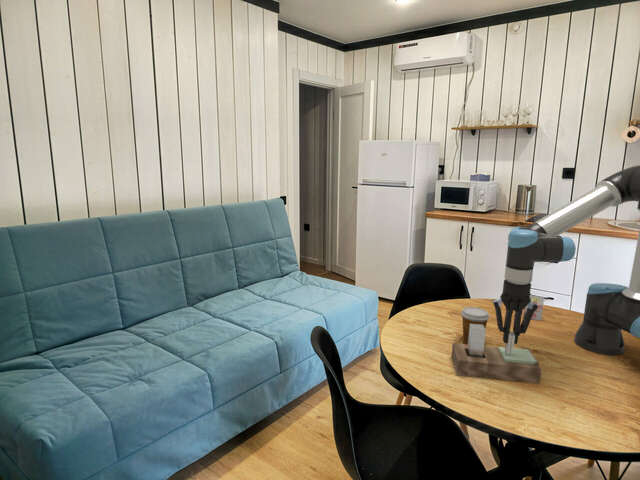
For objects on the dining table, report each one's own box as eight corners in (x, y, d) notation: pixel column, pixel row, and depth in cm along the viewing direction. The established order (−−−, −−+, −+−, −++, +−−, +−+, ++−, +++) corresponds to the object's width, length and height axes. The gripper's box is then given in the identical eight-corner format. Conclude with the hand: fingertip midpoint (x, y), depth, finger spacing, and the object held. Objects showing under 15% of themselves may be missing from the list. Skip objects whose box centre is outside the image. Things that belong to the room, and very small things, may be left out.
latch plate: (529, 352, 133) (529, 349, 133) (537, 364, 125) (538, 361, 125) (498, 349, 135) (498, 346, 134) (504, 361, 127) (504, 358, 127)
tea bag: (522, 315, 177) (525, 293, 175) (540, 318, 174) (543, 295, 172) (523, 318, 174) (526, 295, 172) (541, 321, 171) (544, 298, 169)
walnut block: (527, 364, 136) (529, 350, 135) (539, 383, 124) (541, 368, 123) (451, 356, 140) (452, 342, 139) (456, 375, 128) (458, 360, 127)
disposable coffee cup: (488, 349, 145) (492, 317, 143) (460, 346, 147) (463, 314, 145) (483, 337, 155) (487, 307, 152) (457, 335, 156) (460, 305, 154)
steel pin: (478, 364, 135) (483, 324, 132) (481, 371, 131) (485, 329, 128) (465, 363, 135) (469, 323, 132) (467, 369, 132) (472, 328, 129)
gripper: (536, 278, 128) (527, 349, 133) (491, 275, 130) (484, 345, 135) (545, 286, 120) (535, 360, 125) (497, 282, 123) (489, 356, 127)
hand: (508, 352), depth 130 cm, fingers closed
